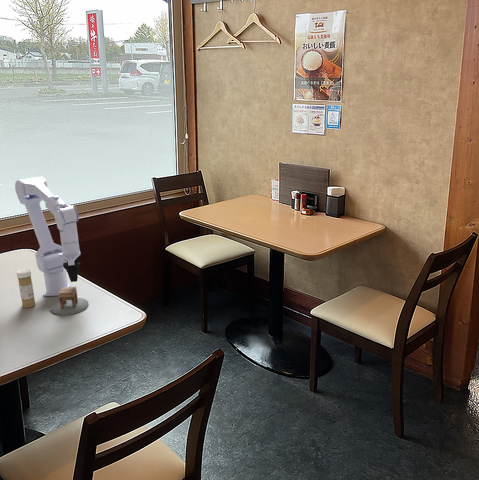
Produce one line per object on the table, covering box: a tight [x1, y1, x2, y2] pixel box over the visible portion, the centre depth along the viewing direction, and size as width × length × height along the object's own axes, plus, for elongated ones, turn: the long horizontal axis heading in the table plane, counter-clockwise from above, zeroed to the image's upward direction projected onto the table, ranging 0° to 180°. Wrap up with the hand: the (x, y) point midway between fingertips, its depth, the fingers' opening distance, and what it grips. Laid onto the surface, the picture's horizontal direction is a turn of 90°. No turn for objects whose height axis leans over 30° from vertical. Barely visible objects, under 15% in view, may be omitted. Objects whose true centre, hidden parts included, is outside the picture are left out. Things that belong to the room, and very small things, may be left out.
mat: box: [49, 297, 89, 316], centre depth 181 cm, size 13×13×1 cm
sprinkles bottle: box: [16, 268, 36, 308], centre depth 181 cm, size 5×5×14 cm
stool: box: [58, 286, 79, 309], centre depth 180 cm, size 5×5×6 cm
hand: (74, 277), depth 180 cm, fingers open, 7 cm apart
